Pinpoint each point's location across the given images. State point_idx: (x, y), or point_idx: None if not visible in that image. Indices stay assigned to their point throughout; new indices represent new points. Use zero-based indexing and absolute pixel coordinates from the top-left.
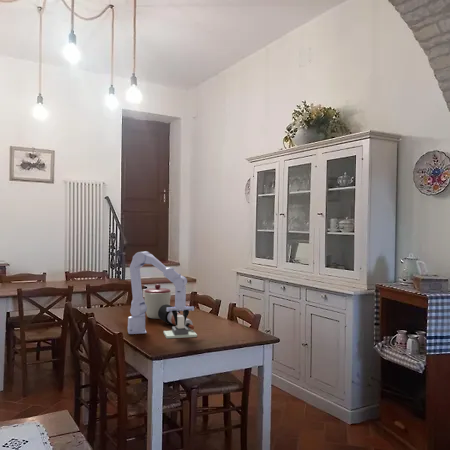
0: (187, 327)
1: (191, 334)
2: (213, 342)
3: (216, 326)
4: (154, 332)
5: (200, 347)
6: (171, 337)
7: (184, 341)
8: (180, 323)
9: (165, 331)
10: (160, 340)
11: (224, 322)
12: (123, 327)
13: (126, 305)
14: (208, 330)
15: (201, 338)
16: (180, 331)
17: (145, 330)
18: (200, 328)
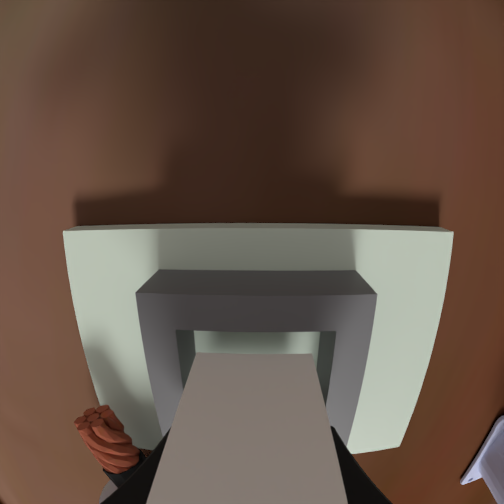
0: None
1: (121, 251)
2: (14, 9)
3: (8, 462)
4: (439, 449)
5: None
6: (393, 227)
7: (258, 31)
8: (264, 412)
9: (391, 432)
10: (498, 161)
11: (4, 490)
12: (495, 500)
13: None
14: (18, 414)
15: (47, 148)
16: (272, 287)
17: (475, 464)
18: (77, 475)
